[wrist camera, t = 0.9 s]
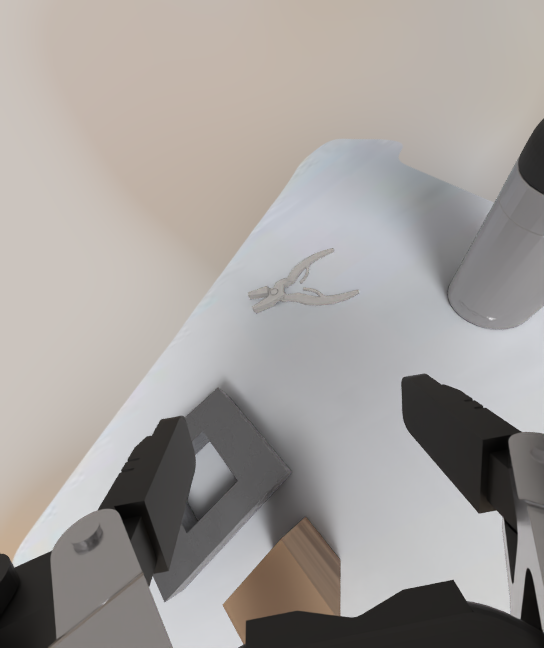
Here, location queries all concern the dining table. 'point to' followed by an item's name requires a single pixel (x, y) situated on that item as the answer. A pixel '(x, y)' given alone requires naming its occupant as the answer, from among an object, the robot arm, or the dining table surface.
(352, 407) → the dining table surface
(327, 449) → the dining table surface
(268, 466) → the socket block
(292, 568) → the walnut peg
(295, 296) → the pliers
